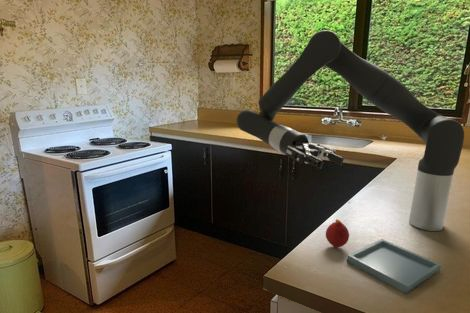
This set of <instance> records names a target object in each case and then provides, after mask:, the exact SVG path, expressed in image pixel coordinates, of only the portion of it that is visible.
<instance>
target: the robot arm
mask: <svg viewBox="0 0 470 313" xmlns="http://www.w3.org/2000/svg"><path fill="white" fill-rule="evenodd" d="M323 67H326V68H328V69H329V70H331V71H332V72H335V73H336V74H337V75H339V76H341V78H343V79H344V80H345V82H347V83H348V85H350V86H351V87H352V88H353V89H354V90H355V91H356V93H358V94H359V95H361V96H362V98H364V99H365V100H367V101H368V102H369V103H370V104H372V105H374V106H375V107H376V108H378V109H380V110H381V111H383V112H385V113H386V114H388V115H389V116H392V117H393V118H396V119H397V120H398V121H400V122H401V123H403V124H404V125H405V126H407V127H408V128H409V129H410V130H411V131H413V132H414V133H415V134H416V135H417V136H418V137H419V138H420V139H421V140H422V141H423V142H424V143H425V149H424V152H423V156H422V158H421V159H420V160H419V161H418V164H417V165H418V166H417V170H416V171H417V172H416V175H415V176H416V177H415V183H414V188H413V193H412V194H413V195H412V200H411V206H410V213H409V218H408V222H409V224H411V225H412V226H414V227H415V228H418V229H420V230H423V231H430V232H439V231H443V229H444V228H443V227H444V224H445V219H446V213H447V208H448V202H449V198H450V193H451V192H450V191H451V188H452V183H453V177H454V172H455V169H456V168H457V166H458V164H459V161H460V159H461V154H462V148H463V146H464V140H465V130H464V127H463V125H462V124H461V123H460V122H459V121H457V120H455V119H453V118H449V117H446V116H444V115H441V114H440V113H437V112H436V111H435V110H433V109H431V108H429V107H428V106H426V105H424V104H423V103H422V102H421V101H419V99H417V97H415V95H414V94H413V93H412V92H411V91H410V90H409V88H407V87H406V86H405V85H404V84H403V83H402V82H401V81H400V80H398V78H396V77H394V76H393V75H391V74H390V73H389V72H387V71H386V70H384V69H383V68H381V67H379V66H378V65H376V64H374V63H372V62H370V61H368V60H367V59H364V58H362V57H360V56H359V55H358V54H356V53H355V52H353V51H352V50H351V49H350V48H349V47H348V46H346V45H345V43H343V42H342V41H341V39H340V37H339V36H338V35H337V33H335V32H334V31H332V30H329V29H324V30H319V31H317V32H315V33H314V34H313V35H312V36H311V37H310V38H309V40H308V43H307V45H306V46H305V48H304V49H303V51H302V52H301V54H300V55H299V56H298V58H297V59H296V60H295V62H294V63H292V65H291V66H290V67H289V68H288V69H287V70H286V71H285V73H283V74H282V75H281V76H280V77H279V78H278V79H277V80H276V81H275V82H274V83H273V84H272V85H271V86H270V87H269V89H267V91H266V92H264V94H263V95H262V96H261V97H260V99H259V100H258V105H259V108H260V109H261V110H260V111H259V113H257V112H255V111H253V110H250V109H245V110H242V111H241V112H239V113H238V115H237V117H236V125H237V127H238V129H239V130H240V131H243V132H245V133H246V134H247V135H250V136H253V137H256V138H258V140H261V141H262V142H263V143H265V144H267V145H269V146H271V147H272V148H273V149H275V150H276V151H277V152H278V151H279V153H281V154H284V155H285V156H287V157H288V158H290V159H292V160H293V161H295V162H297V163H298V164H303V162H304V163H305V164H307V165H308V164H310V165H311V166H312V167H314V168H317V169H319V170H320V169H322V168H323V166H324V160H327V161H329V162H331V163H333V164H336V165H338V166H342V165H343V163H344V157H342V156H340V155H338V154H336V153H335V152H336V149H334V148H330V147H328V146H326V145H324V144H322V143H319V142H318V143H317V144H315V143H313V142H309V140H308V137H307V135H305V133H302V132H299V131H298V130H295V129H293V128H291V127H289V126H286V125H282V124H280V123H278V122H276V121H274V119H275V118H276V116H277V114H278V113H279V111H281V109H283V107H285V106H286V104H287V103H288V102H290V100H291V99H292V98H293V97H294V96H295V95H296V93H297V92H298V91H299V90H300V89H301V88H302V86H304V85H305V83H306V82H307V81H308V80H309V79H310V78H311V77H312V76H314V75H315V74H316V73H317V72H318V71H319V70H321V69H322V68H323Z"/></svg>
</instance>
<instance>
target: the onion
mask: <svg viewBox="0 0 470 313" xmlns="http://www.w3.org/2000/svg"><path fill="white" fill-rule="evenodd" d="M325 237H326V241H327V242H328V243H329V244H330V245H331V246H332V247H333V248H335V249H338V248H341V247H344V245H346V244H347V243H348V241H349V238H350V233H349V229H348V228H347V226H346V225H345V224H344V223H342V222H341V219H335V222H332V223H331V224H330V225H328V226H327V228H326V230H325Z"/></svg>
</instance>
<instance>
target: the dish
mask: <svg viewBox="0 0 470 313" xmlns="http://www.w3.org/2000/svg"><path fill="white" fill-rule="evenodd" d="M346 258H347V259H346V262H347V263H349V264H350V265H352V266H354V267H356V268H358V269H359V270H361V271H363V272H364V273H366V274H368V275H369V276H373V277H374V278H376V279H377V280H380V281H381V282H384V283H385V284H387V285H389V286H391V287H393V288H395V289H396V290H398V291H400V292H402V293H404V294H406V295H408V294H409V293H411V292H412V291H414V290H416V288H418V287H420V286H421V285H423V284H424V283H425V282H427V281H428V280H430V279H431V278H433V277H434V276H436V275H437V274H439V273H440V272H441V267H442V264H440V263H438V262H436V261H433V260H431V259H429V258H426V257H424V256H422V255H419V254H417V253H415V252H412V251H410V250H408V249H406V248H404V247H401V246H399V245H397V244H394V243H393V242H390V241H387V240H385V239H379V240H377V241H375V242H373V243H371V244H369V245H367V246H365V247H362V248H360V249H358V250H356V251H354V252H351V253H349V254H347V257H346ZM432 276H433V277H432ZM429 278H430V279H429ZM426 280H427V281H426Z"/></svg>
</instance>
